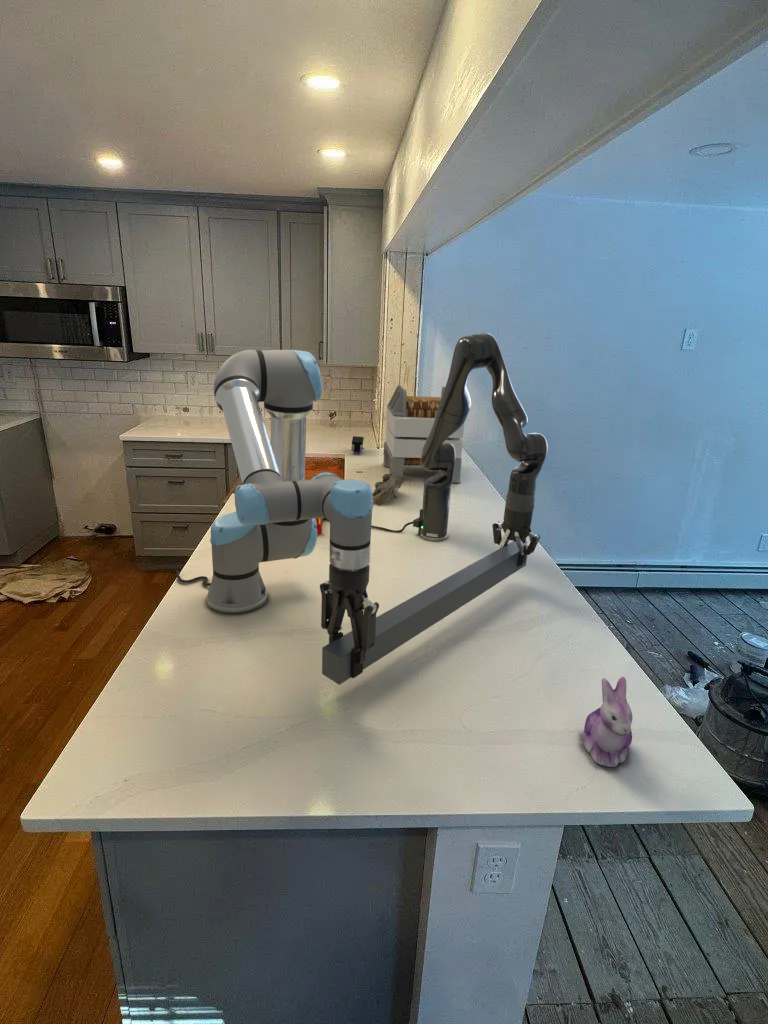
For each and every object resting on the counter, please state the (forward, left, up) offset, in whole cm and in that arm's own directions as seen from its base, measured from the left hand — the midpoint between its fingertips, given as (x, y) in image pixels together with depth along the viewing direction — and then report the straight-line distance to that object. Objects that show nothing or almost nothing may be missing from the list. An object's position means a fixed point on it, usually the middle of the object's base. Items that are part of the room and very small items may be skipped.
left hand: (346, 668), depth 113 cm
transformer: (-108, +133, -7) cm, 171 cm away
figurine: (+43, +27, -7) cm, 51 cm away
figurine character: (-156, +134, -7) cm, 206 cm away
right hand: (-7, +66, +2) cm, 66 cm away
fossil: (-89, +94, -7) cm, 130 cm away
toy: (-86, +53, -7) cm, 101 cm away
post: (-4, +33, 0) cm, 33 cm away
